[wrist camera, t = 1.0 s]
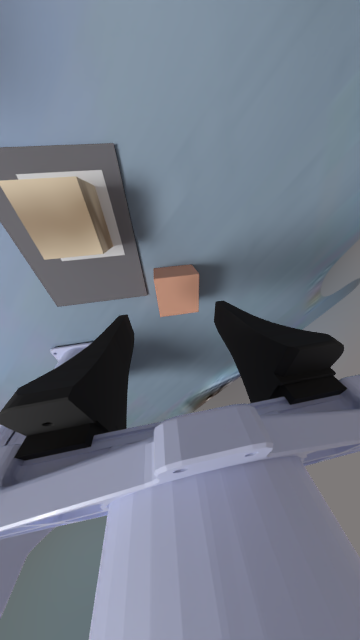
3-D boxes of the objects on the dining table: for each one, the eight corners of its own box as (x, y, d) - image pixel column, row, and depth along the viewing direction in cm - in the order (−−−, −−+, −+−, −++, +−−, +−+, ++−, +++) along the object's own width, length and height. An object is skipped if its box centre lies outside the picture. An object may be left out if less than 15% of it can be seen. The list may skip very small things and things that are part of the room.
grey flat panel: (147, 294, 20) (147, 295, 20) (58, 306, 19) (57, 306, 19) (113, 144, 12) (113, 143, 12) (-46, 150, 11) (-49, 149, 11)
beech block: (113, 246, 16) (103, 253, 13) (66, 250, 16) (44, 259, 12) (94, 185, 13) (75, 176, 10) (36, 189, 13) (-3, 180, 10)
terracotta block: (191, 297, 22) (198, 311, 19) (159, 301, 22) (160, 316, 18) (191, 264, 19) (199, 273, 16) (153, 268, 19) (153, 279, 15)
